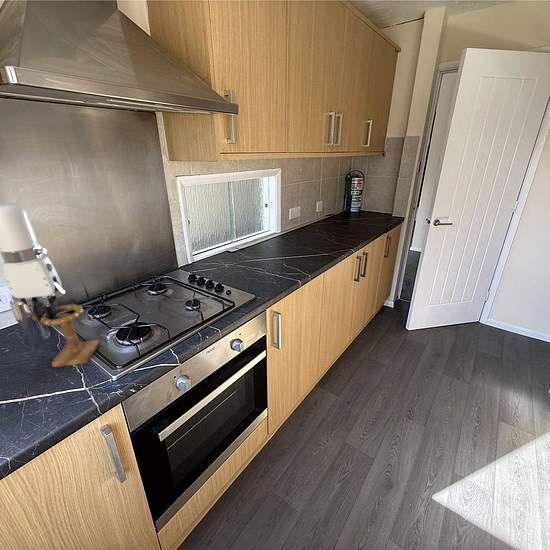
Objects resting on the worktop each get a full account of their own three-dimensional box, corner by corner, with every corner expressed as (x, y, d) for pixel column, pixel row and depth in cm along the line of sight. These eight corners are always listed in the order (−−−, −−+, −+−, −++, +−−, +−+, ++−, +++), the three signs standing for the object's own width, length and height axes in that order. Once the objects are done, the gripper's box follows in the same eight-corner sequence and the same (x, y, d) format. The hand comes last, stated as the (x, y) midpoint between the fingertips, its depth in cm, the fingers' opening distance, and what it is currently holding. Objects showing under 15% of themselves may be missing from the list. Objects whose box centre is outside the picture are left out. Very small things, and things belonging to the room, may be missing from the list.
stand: (52, 367, 81) (35, 326, 76) (68, 347, 90) (54, 309, 84) (87, 363, 83) (73, 322, 77) (99, 343, 91) (87, 305, 85)
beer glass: (53, 331, 98) (37, 291, 92) (55, 341, 93) (38, 299, 87) (26, 339, 94) (8, 298, 88) (27, 350, 89) (8, 307, 83)
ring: (34, 328, 76) (31, 323, 75) (53, 310, 85) (51, 305, 84) (74, 324, 77) (72, 319, 77) (89, 307, 86) (87, 302, 85)
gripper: (64, 247, 77) (84, 308, 85) (-3, 252, 75) (24, 313, 83) (49, 257, 71) (72, 321, 78) (-25, 262, 68) (6, 328, 76)
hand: (47, 317), depth 80 cm, fingers closed on ring, 2 cm apart
